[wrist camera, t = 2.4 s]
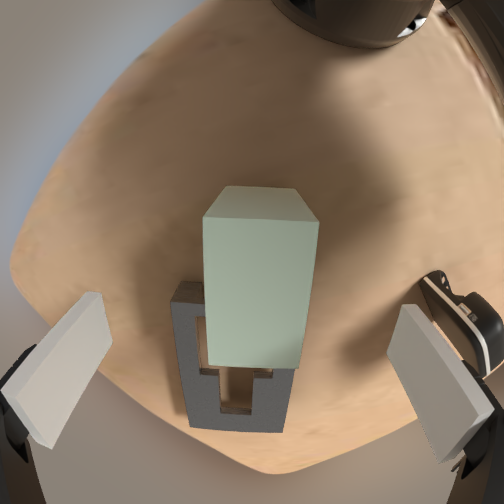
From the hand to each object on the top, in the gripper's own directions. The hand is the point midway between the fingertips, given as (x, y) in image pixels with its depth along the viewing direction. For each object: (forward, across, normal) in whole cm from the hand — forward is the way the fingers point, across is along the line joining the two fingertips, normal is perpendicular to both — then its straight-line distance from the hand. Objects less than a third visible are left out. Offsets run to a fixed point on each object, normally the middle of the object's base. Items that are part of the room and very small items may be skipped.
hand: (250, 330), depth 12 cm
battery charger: (+14, +20, -6) cm, 26 cm away
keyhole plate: (+14, -1, -14) cm, 20 cm away
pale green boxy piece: (+14, 0, 0) cm, 14 cm away
